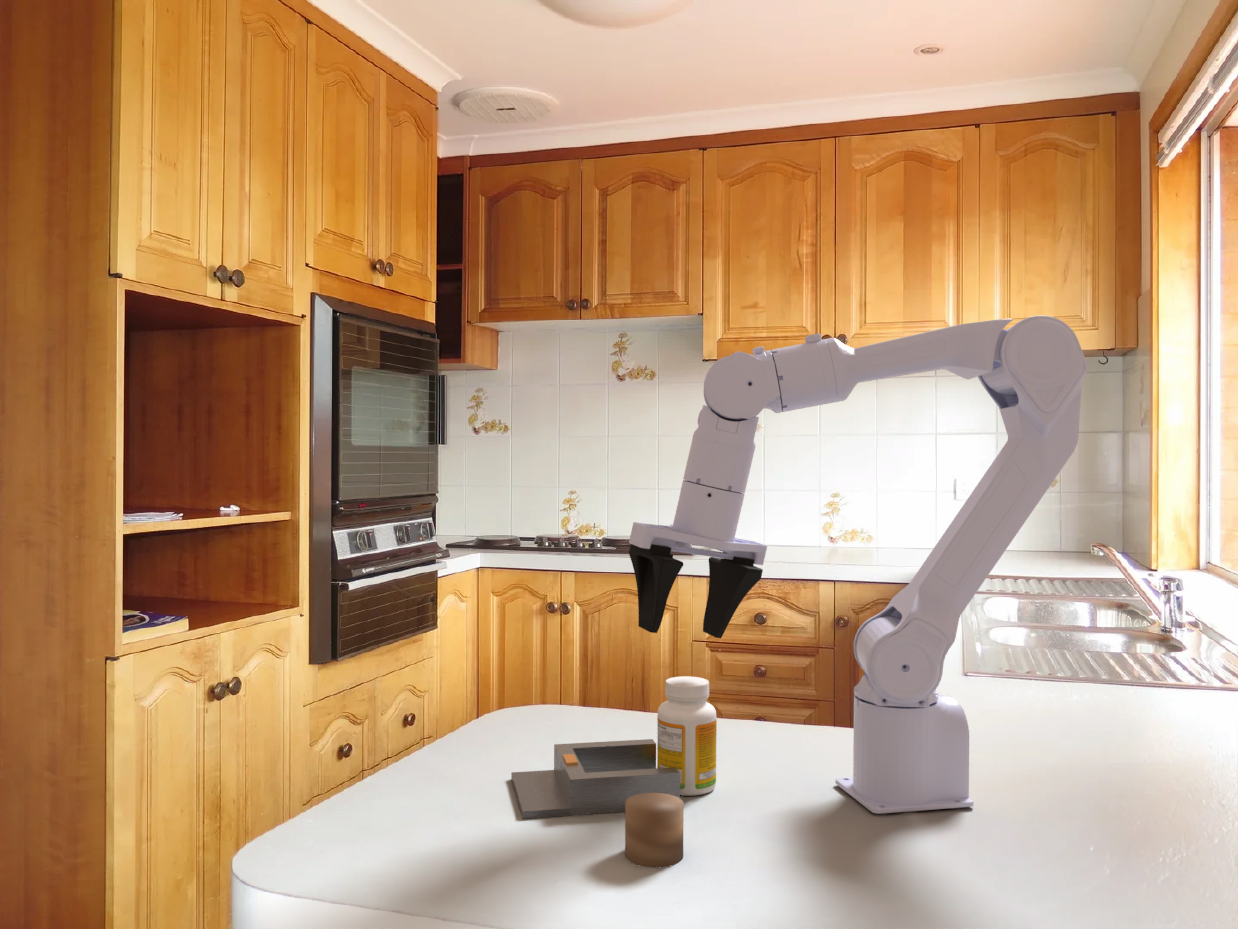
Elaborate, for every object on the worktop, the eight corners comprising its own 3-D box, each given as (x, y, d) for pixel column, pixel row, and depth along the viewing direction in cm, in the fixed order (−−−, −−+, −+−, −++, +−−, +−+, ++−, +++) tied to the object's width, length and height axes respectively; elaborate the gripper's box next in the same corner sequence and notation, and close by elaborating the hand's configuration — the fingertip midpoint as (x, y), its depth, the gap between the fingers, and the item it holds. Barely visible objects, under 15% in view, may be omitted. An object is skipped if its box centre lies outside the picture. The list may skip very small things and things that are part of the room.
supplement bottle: (712, 777, 90) (712, 674, 90) (719, 797, 85) (720, 687, 85) (654, 777, 90) (655, 674, 90) (659, 797, 85) (660, 688, 85)
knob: (674, 842, 75) (675, 791, 75) (690, 865, 71) (690, 811, 71) (619, 846, 74) (620, 794, 74) (632, 870, 70) (632, 815, 70)
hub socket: (652, 770, 92) (652, 737, 92) (679, 807, 82) (680, 770, 82) (511, 779, 89) (511, 744, 89) (522, 818, 79) (522, 780, 79)
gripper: (743, 491, 94) (712, 625, 95) (625, 467, 86) (592, 614, 86) (793, 504, 88) (760, 647, 89) (671, 480, 80) (636, 637, 81)
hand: (680, 632), depth 87 cm, fingers open, 7 cm apart
